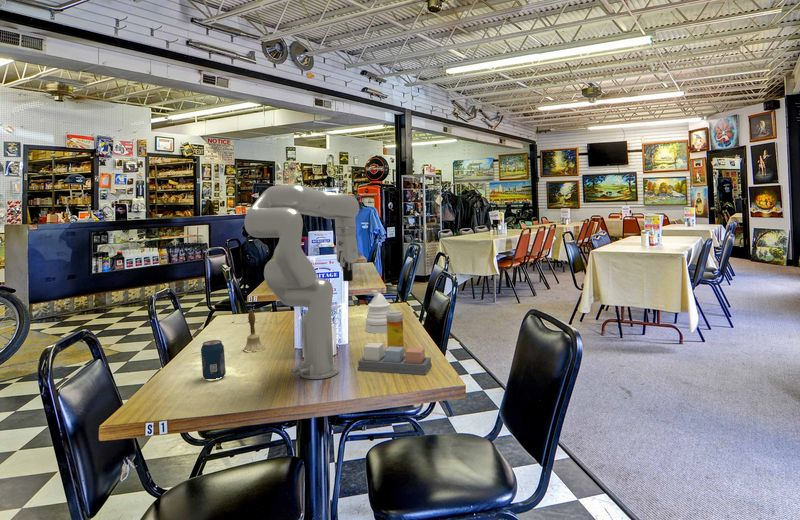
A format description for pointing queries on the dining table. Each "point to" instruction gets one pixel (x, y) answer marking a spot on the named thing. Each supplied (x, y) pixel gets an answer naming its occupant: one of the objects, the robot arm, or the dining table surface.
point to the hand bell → (253, 335)
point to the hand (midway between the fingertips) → (348, 280)
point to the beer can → (395, 328)
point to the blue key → (394, 354)
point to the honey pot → (377, 314)
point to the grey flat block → (395, 366)
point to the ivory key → (374, 351)
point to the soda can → (213, 359)
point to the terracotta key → (415, 355)
